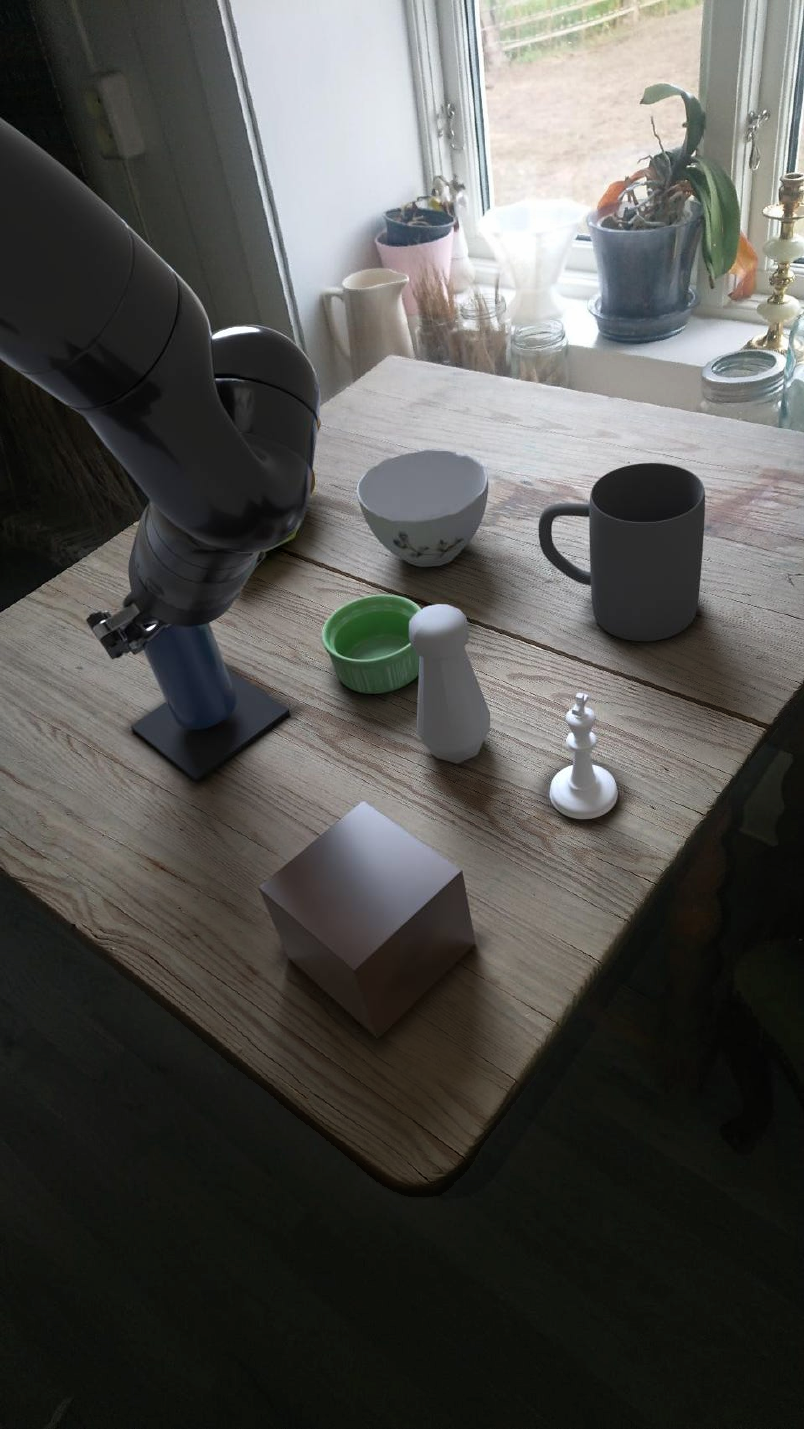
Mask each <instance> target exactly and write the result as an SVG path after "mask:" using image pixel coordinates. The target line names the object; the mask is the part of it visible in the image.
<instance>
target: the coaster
mask: <svg viewBox="0 0 804 1429" xmlns="http://www.w3.org/2000/svg"><path fill="white" fill-rule="evenodd" d="M226 669H227V671H228V674H229V677H230V679H231V682H232V685H233V687H234V690H235V693H236V696H237V703H236V706H235V708H234V710H233V712H232V713H231V714H230V715H229V716H228V717H227V718H226V719H225V720H223V721H222V722H220V723H218V724H216V725H214V726H211V727H208V728H204V729H187V728H184V727H181V726H180V725H178V724H177V723H176V722H175V720H174V718H173V716H172V714H171V712H170V709H169V707H168V705H167V703H166V701H165V702H164V703H162V704H161V705H159V706H158V707H156V708H155V709H153V710H152V711H151V712H149V713H148V714H146V715H145V716H143V717H142V718H141V719H139V720H137V721H136V722H135V723H133V724H131V726H130V728H131V730H132V731H133V732H134V733H136V734H137V735H138V736H140V738H142V739H143V740H144V741H145V742H147V743H148V744H149V745H151V747H153V748H154V749H155V750H157V751H158V752H159V753H160V754H161V755H163V756H164V757H165V758H167V760H169V761H170V762H171V763H173V765H175V766H176V767H178V769H179V770H181V771H182V772H184V773H185V774H186V775H188V776H189V777H190V778H191V779H192V780H194V781H195V782H196V783H198V782H199V781H201V780H202V779H204V778H205V777H206V776H208V775H209V774H210V773H212V772H213V771H214V770H216V769H217V768H219V766H221V765H222V764H224V763H225V762H226V761H228V760H229V759H231V757H233V756H234V755H236V754H237V753H238V752H240V751H241V750H242V749H244V748H246V747H247V746H248V745H249V744H251V743H252V742H253V741H254V740H256V739H257V738H259V737H260V736H261V735H262V734H264V733H265V732H266V731H268V730H270V729H271V728H272V727H273V726H275V725H276V724H278V723H279V722H280V721H281V720H283V719H284V718H285V717H287V716H288V715H289V714H291V711H290V709H289V708H288V707H286V706H284V704H283V705H282V704H281V703H280V702H278V701H277V700H275V699H274V698H273V697H271V696H270V695H268V694H267V693H264V692H263V691H262V690H261V689H259V688H257V687H256V686H254V685H253V684H251V683H250V682H249V681H247V680H246V679H244V678H243V677H241V676H240V675H238V674H237V673H235V672H234V671H232V670H230V669H229V668H228V667H226Z"/></svg>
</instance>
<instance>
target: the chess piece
mask: <svg viewBox="0 0 804 1429" xmlns="http://www.w3.org/2000/svg"><path fill="white" fill-rule="evenodd" d="M574 698H575V704H574V705H573V707H571V709H569V710H568V711H567V713H566V714H565V721H566V723H567V726H568V727H569V729H570V731H571V732H570V733H568V735H567V737H566V739H565V744H566V746H567V748H568V749H569V750H570V751H571V752H573V760H572V765H569V766H566V767H564V768H562V769H561V770H560V771H559V772H557V773H556V774H555V775H554V777H553V778H552V780H551V783H550V789H549V798H550V801H551V805H552V806H553V807H554V808H555V809H556V810H557V811H558V812H559V813H561V814H562V815H564V816H566V817H569V818H572V819H575V820H576V819H577V820H589V819H590V820H591V819H595V818H599V817H601V816H604V815H606V813H608V812H609V811H611V810H612V809H613V807H614V806H615V804H616V803H617V800H618V796H619V792H618V787H617V782H616V781H615V778H614V776H613V775H612V774H611V773H610V771H608V770H606V769H605V768H604V767H601V766H599V765H596V764H593V762H592V758H591V752H592V751H593V750H594V749H596V747H597V744H598V738H597V736H596V734H595V733H594V732H592V729H593V727H594V726H595V723H596V719H597V716H596V713H595V712H594V710H593V709H591V708H589V707H587V706H586V704H587V703H588V701H589V694H586V693H583V692H577V693H576V695H575V697H574Z"/></svg>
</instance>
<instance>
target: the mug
mask: <svg viewBox="0 0 804 1429" xmlns="http://www.w3.org/2000/svg"><path fill="white" fill-rule="evenodd" d="M563 516H564V517H582V518H583V517H584V518H588V519H589V520H588V522H589V525H588V528H589V529H588V530H589V532H588V535H589V569H590V570H589V571H586V570H583V569H581V568H580V567H578V566H576V565H575V564H573V563H572V562H571V561H569V560H568V559H567V558H566V557H565V556H564V555H563V554H562V553H561V552H560V551H559V550H558V549H557V548H556V546H555V544H554V541H553V522H554V520H555V519H556V518H557V517H563ZM705 517H706V490H705V486H704V484H703V482H702V480H701V479H700V478H699V476H697V474H694V473H693V472H691V471H690V470H688V469H687V468H683V467H681V466H678V465H673V464H669V463H663V462H642V463H641V462H640V463H634V464H629V465H624V466H621V467H618V468H616V469H613V470H611V471H609V472H607V473H606V474H604V475H602V476H601V477H600V478H599V479H597V481H596V482H595V483H594V484H593V486H592V488H591V491H590V495H589V503H579V502H578V503H577V502H576V503H575V502H573V503H572V502H567V503H566V502H565V503H555V504H551V505H549V506H547V507H546V508H545V509H544V510H543V511H542V513H541V515H540V517H539V520H538V540H539V547H540V550H541V551H542V554H543V555H544V557H545V558H546V559H547V561H549V563H550V564H551V565H552V566H554V568H556V569H557V570H558V571H559V572H561V573H562V574H563V575H565V576H566V577H567V578H569V579H571V580H573V581H575V582H576V583H579V584H581V585H586V586H590V594H591V607H592V612H593V617H594V619H595V620H596V622H597V624H598V625H599V626H600V627H601V628H602V629H603V630H604V631H606V632H607V633H608V634H610V635H612V636H614V637H617V638H620V639H622V640H627V641H633V642H654V641H656V642H657V641H661V640H665V639H668V638H671V637H674V636H676V635H678V634H679V633H681V632H683V631H684V630H685V629H687V627H689V625H691V623H692V622H693V620H694V619H695V617H696V614H697V610H698V605H699V597H700V588H701V576H702V565H703V564H702V563H703V552H704V551H703V550H704V536H705V535H704V534H705Z"/></svg>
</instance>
